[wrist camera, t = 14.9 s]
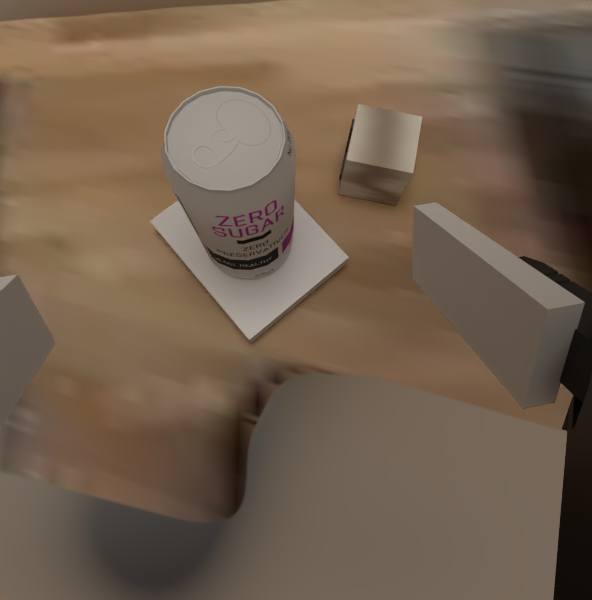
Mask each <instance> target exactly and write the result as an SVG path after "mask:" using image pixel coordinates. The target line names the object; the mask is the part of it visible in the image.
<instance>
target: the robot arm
mask: <svg viewBox="0 0 592 600" xmlns="http://www.w3.org/2000/svg"><path fill="white" fill-rule="evenodd" d="M412 278H413V279H414V280H415V282H416V283H417V284H418V285H419V286H420V288H421V289H422V290H423V291H424V292H425V293H426V295H427V296H428V297H429V298H430V299H431V301H432V302H433V303H434V304H435V305H436V306H437V308H438V309H439V310H440V311H441V312H442V314H443V315H444V316H445V317H446V318H447V319H448V321H449V322H450V323H451V324H452V325H453V327H454V328H455V329H456V330H457V331H458V332H459V334H460V335H461V336H462V337H463V338H464V340H465V341H466V342H467V343H468V344H469V345H470V347H471V348H472V349H473V350H474V351H475V353H476V354H477V355H478V356H479V357H480V358H481V360H482V361H483V362H484V363H485V364H486V365H487V367H488V368H489V369H490V370H491V371H492V373H493V374H494V375H495V376H496V377H497V378H498V380H499V381H500V382H501V383H502V384H503V386H504V387H505V388H506V389H507V390H508V391H509V393H510V394H511V395H512V396H513V397H514V399H515V400H516V401H517V402H518V403H519V404H520V406H521V407H522V408H523V409H525V408H530V407H535V406H540V405H545V404H549V403H554V402H555V400H556V396H557V393H558V390H559V387H560V383H562V384H563V385H564V386H565V387H566V388H567V389H568V390H569V391H570V392H571V393H572V394H573V397H572V400H571V403H570V406H569V409H568V412H567V415H566V418H565V421H564V424H563V427H562V429H563V430H566V431H567V443H566V456H565V468H564V479H563V492H562V503H561V516H560V528H559V539H558V551H557V564H556V576H555V587H554V600H592V293H590V292H589V291H587V290H586V289H584V288H583V287H581V286H579V285H578V284H576V283H575V282H570V279H568V278H567V277H565V276H564V275H562V274H558V272H557V271H556V270H554V269H553V268H551V267H549V266H548V265H546V264H545V263H543V262H540V261H537V260H534V259H531V258H528V257H525V256H523V257H517V256H515V255H514V254H512V253H511V252H509V251H508V250H506V249H505V248H503V247H502V246H500V245H499V244H497V243H496V242H494V241H493V240H491V239H490V238H488V237H487V236H485V235H484V234H482V233H481V232H479V231H478V230H476V229H475V228H474V227H472V226H471V225H469V224H468V223H466V222H465V221H463V220H462V219H460V218H459V217H457V216H456V215H454V214H453V213H451V212H450V211H448V210H447V209H445V208H444V207H442V206H441V205H439V204H438V203H436V202H434V203H429V204H423V205H417V206H414V224H413V257H412ZM55 343H56V342H55V340H54V338H53V336H52V334H51V333H50V331H49V329H48V327H47V326H46V324H45V322H44V320H43V318H42V317H41V315H40V313H39V311H38V310H37V308H36V306H35V304H34V302H33V301H32V299H31V297H30V295H29V294H28V292H27V290H26V288H25V286H24V285H23V283H22V281H21V279H20V278H19V276H18V274H17V275H11V276H6V277H0V429H1V428H2V426H3V424H4V423H5V421H6V420H7V418H8V417H9V415H10V413H11V412H12V410H13V409H14V407H15V406H16V404H17V402H18V401H19V399H20V398H21V396H22V395H23V393H24V392H25V390H26V388H27V387H28V385H29V384H30V382H31V381H32V379H33V377H34V376H35V374H36V373H37V371H38V370H39V368H40V366H41V365H42V363H43V362H44V360H45V359H46V357H47V355H48V354H49V352H50V351H51V349H52V348H53V346H54V344H55Z"/></svg>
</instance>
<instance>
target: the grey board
mask: <svg viewBox="0 0 592 600" xmlns="http://www.w3.org/2000/svg"><path fill="white" fill-rule="evenodd" d="M150 222H151V223H152V225H153V226H154V227H155V229H156V230H157V231H158V232H159V234H160V235H161V236H162V237H163V238H164V239H165V241H166V242H167V243H168V244H169V245H170V247H171V248H172V249H173V250H174V251H175V253H176V254H177V255H178V256H179V257H180V259H181V260H182V261H183V262H184V263H185V265H186V266H187V267H188V268H189V269H190V271H191V272H192V273H193V274H194V275H195V277H196V278H197V279H198V280H199V281H200V283H201V284H202V285H203V286H204V287H205V288H206V290H207V291H208V292H209V293H210V294H211V296H212V297H213V298H214V299H215V300H216V302H217V303H218V304H219V305H220V306H221V308H222V309H223V310H224V311H225V312H226V314H227V315H228V316H229V317H230V318H231V320H232V321H233V322H234V323H235V324H236V326H237V327H238V328H239V329H240V330H241V332H242V333H243V334H244V335H245V336H246V337H247V339H248V340H249V341H250V342H251V343H252V342H253V341H255V340H256V339H257V338H258V337H259V336H261V335H262V334H263V333H264V332H265V331H267V330H268V329H269V328H270V327H271V326H273V325H274V324H275V323H276V322H277V321H279V320H280V319H281V318H282V317H283V316H285V315H286V314H287V313H288V312H289V311H291V310H292V309H293V308H294V307H295V306H297V305H298V304H299V303H300V302H301V301H303V300H304V299H305V298H306V297H307V296H309V295H310V294H311V293H312V292H313V291H315V290H316V289H317V288H318V287H319V286H321V285H322V284H323V283H324V282H325V281H327V280H328V279H329V278H330V277H331V276H333V275H334V274H335V273H336V272H337V271H339V270H340V269H341V268H342V267H343V266H345V265H346V263H347V261H348V258H349V257H348V256H347V255H346V254H345V253H344V252H343V251H342V250H341V248H340V247H339V246H338V245H337V244H336V243H335V242H334V241H333V240H332V239H331V238H330V237H329V236H328V235H327V234H326V233H325V231H324V230H323V229H322V228H321V227H320V226H319V225H318V224H317V223H316V222H315V221H314V220H313V219H312V218H311V217H310V216H309V214H308V213H307V212H306V211H305V210H304V209H303V208H302V207H301V206H300V205H299V204H298V203H297V202H296V201H294V232H293V242H292V246H291V250H290V253H289V255H288V256H287V258H286V259H285V260H284V262H283V263H282V265H281V266H279V267H278V268H277V269H275V270H274V271H272V272H271V273H269V274H267V275H264V276H260V277H257V278H254V279H252V278H237V277H234V276H232V275H229V274H227V273H225V272H223V271H221V270H220V269H219V268H218V267H217V266H216V265H215V264H214V263H213V262H212V261H211V259H210V257H209V256H208V254H207V252H206V250H205V248H204V246H203V245H202V243H201V241H200V239H199V237H198V235H197V234H196V232H195V230H194V228H193V226H192V225H191V223H190V221H189V219H188V217H187V215H186V214H185V212H184V210H183V208H182V206H181V204H180V203H179V201H177V202H175V203H174V204H173V205H171V206H170V207H168V208H167V209H166V210H164V211H163V212H161V213H160V214H159V215H157V216H156V217H155V218H153V219H152V220H150Z"/></svg>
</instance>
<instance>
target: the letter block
mask: <svg viewBox="0 0 592 600" xmlns="http://www.w3.org/2000/svg"><path fill="white" fill-rule="evenodd" d="M421 121H422V117H421V116H416V115H410V114H405V113H400V112H395V111H390V110H385V109H380V108H375V107H370V106H365V105H360V104H358V107H357V111H356V116H355V119H353V120H352V124H351V129H350V133H349V137H348V142H347V146H346V151H345V155H344V160H343V165H342V169H341V174H340V180H341V183H340V188H339V192H338V194H340V195H345V196H350V197H355V198H359V199H364V200H369V201H374V202H379V203H384V204H389V205H394V206H395V205H396V204H397V202H398V200H399V198H400V196H401V195H402V193H403V191H404V189H405V187H406V185H407V184H408V182H409V180H410V178H411V176H412V175H413V171H414V165H415V159H416V153H417V146H418V140H419V134H420V128H421Z"/></svg>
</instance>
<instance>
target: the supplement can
mask: <svg viewBox="0 0 592 600" xmlns="http://www.w3.org/2000/svg"><path fill="white" fill-rule="evenodd" d="M164 139H165V140H164V143H163V146H162V168H163V172H164V174H165V176H166V178H167V180H168V182H169V184H170V186H171V188H172V190H173V192H174V193H175V195H176V197H177V199H178V201H179V203H180V204H181V206H182V208H183V210H184V212H185V214H186V215H187V217H188V219H189V221H190V223H191V225H192V226H193V228H194V230H195V232H196V234H197V235H198V237H199V239H200V241H201V243H202V245H203V246H204V248H205V250H206V252H207V254H208V256H209V257H210V259H211V261H212V262H213V263H214V264H215V265H216V266H217V267H218V268H219V269H220V270H221V271H223V272H225V273H227V274H229V275H232V276H234V277H237V278H252V279H254V278H257V277H260V276H264V275H267V274H269V273H271V272H272V271H274V270H275V269H277V268H278V267H279V266H281V265H282V263H283V262H284V260H285V259H286V258H287V256H288V255H289V253H290V250H291V246H292V242H293V232H294V201H295V170H296V153H295V146H294V139H293V135H292V133H291V132H290V130H289V128H288V127H287V125H286V123H285V122H284V120H283V118H282V117H281V116H280V115H279V114H278V112H277V111H276V109H275V107H274V106H273V105H272V104H271V103H269V102H268V101H267V100H266V99H264V98H263V97H262V96H261V95H260V94H257V93H255V92H252V91H249V90H247V89H244V88H241V87H227V86H218V87H214V88H210V89H206V90H202V91H199V92H197V93H196V94H194V95H192V96H191V97H189V98H187V99H186V100H184V101H183V102H182V103H181V104H180V105H179V106H178V108H177V109H176V110H175V111H174V112H173V113H172V115H171V116H170V118H169V121H168V124H167V127H166V130H165V132H164Z"/></svg>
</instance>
